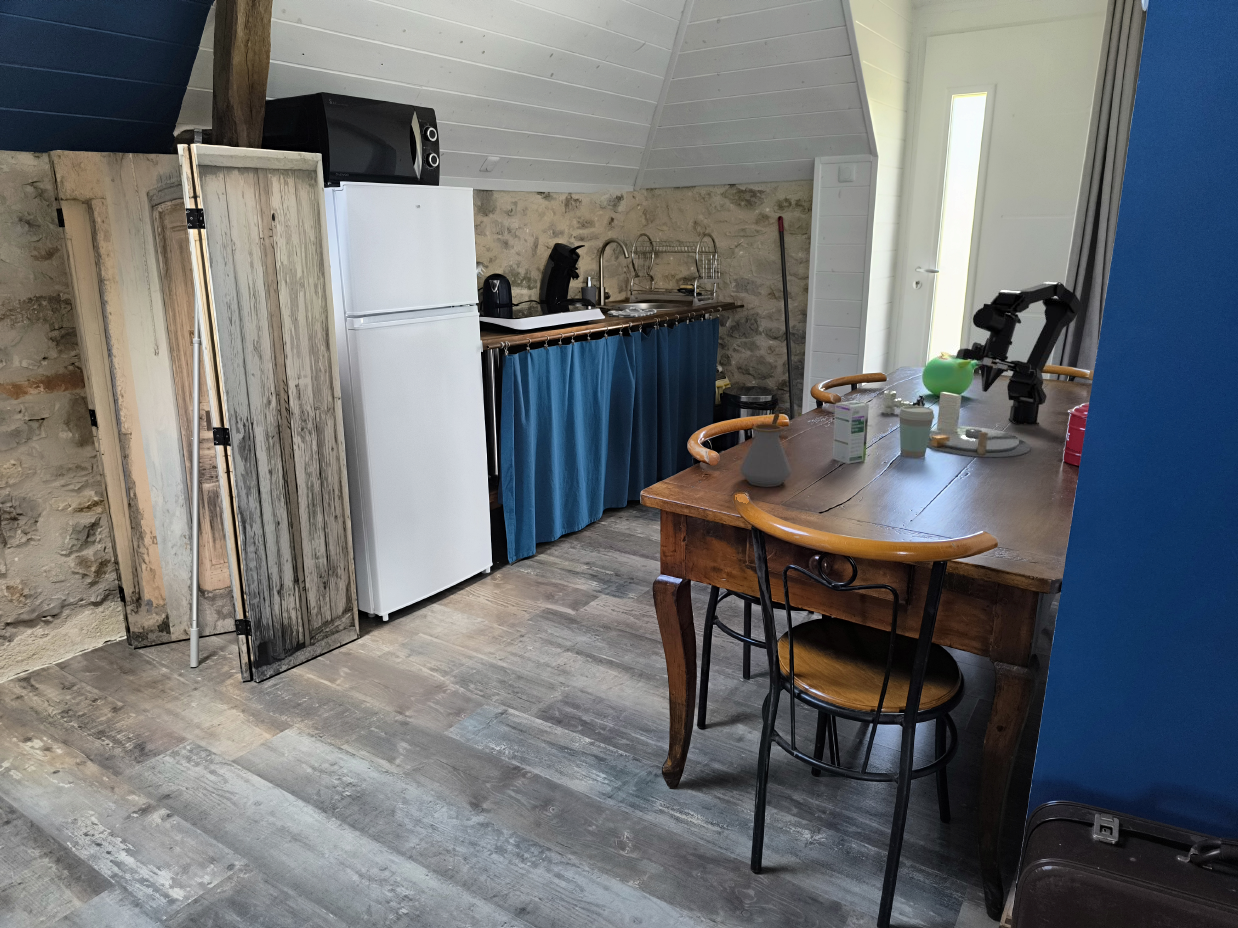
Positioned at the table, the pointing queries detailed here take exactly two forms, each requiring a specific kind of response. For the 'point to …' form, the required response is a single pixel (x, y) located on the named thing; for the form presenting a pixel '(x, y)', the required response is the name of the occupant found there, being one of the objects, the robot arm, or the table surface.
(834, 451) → the syrup box
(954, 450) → the grey round disc
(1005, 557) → the table surface
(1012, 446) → the grey stand
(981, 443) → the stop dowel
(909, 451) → the coffee cup
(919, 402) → the valve
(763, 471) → the coffee pot
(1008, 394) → the robot arm
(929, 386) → the toy bird
